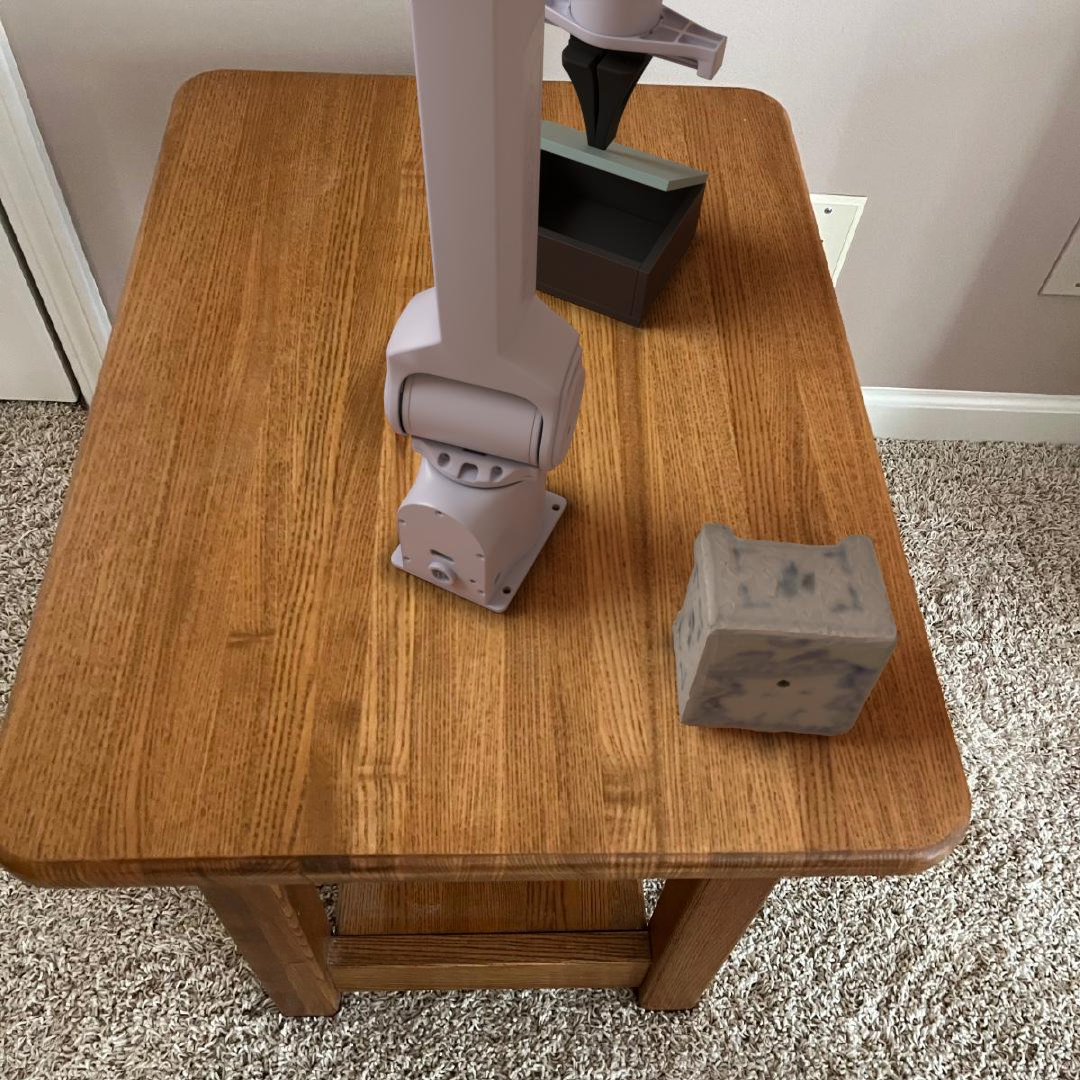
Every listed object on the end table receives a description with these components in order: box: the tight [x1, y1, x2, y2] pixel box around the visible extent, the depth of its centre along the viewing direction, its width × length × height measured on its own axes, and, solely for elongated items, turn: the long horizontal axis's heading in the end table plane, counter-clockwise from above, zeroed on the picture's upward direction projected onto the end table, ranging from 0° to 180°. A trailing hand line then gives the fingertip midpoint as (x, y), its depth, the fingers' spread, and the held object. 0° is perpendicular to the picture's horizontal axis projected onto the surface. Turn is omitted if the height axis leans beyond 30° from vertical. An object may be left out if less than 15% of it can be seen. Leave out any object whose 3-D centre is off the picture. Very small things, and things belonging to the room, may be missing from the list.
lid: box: [540, 119, 710, 191], centre depth 71 cm, size 12×14×1 cm
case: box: [536, 149, 707, 329], centre depth 76 cm, size 12×14×5 cm
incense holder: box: [671, 522, 899, 737], centre depth 54 cm, size 10×8×10 cm
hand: (601, 140), depth 70 cm, fingers closed, pressing on lid
